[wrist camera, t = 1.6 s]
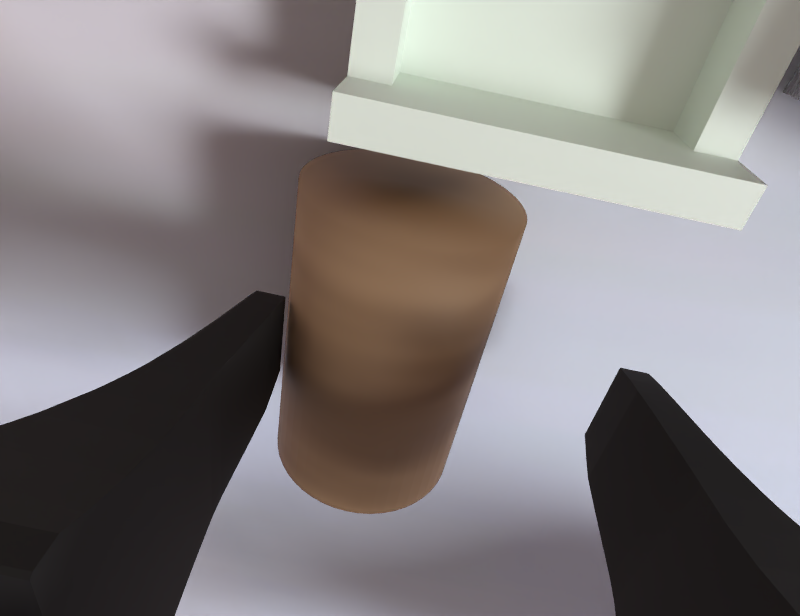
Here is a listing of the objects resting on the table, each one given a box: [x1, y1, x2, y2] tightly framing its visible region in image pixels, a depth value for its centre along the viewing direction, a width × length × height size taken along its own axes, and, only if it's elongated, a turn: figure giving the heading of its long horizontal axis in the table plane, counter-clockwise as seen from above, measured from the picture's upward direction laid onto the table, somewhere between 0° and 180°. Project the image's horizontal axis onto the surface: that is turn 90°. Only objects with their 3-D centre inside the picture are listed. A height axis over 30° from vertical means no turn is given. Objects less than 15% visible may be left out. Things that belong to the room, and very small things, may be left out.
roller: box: [278, 149, 527, 514], centre depth 13 cm, size 7×4×4 cm
